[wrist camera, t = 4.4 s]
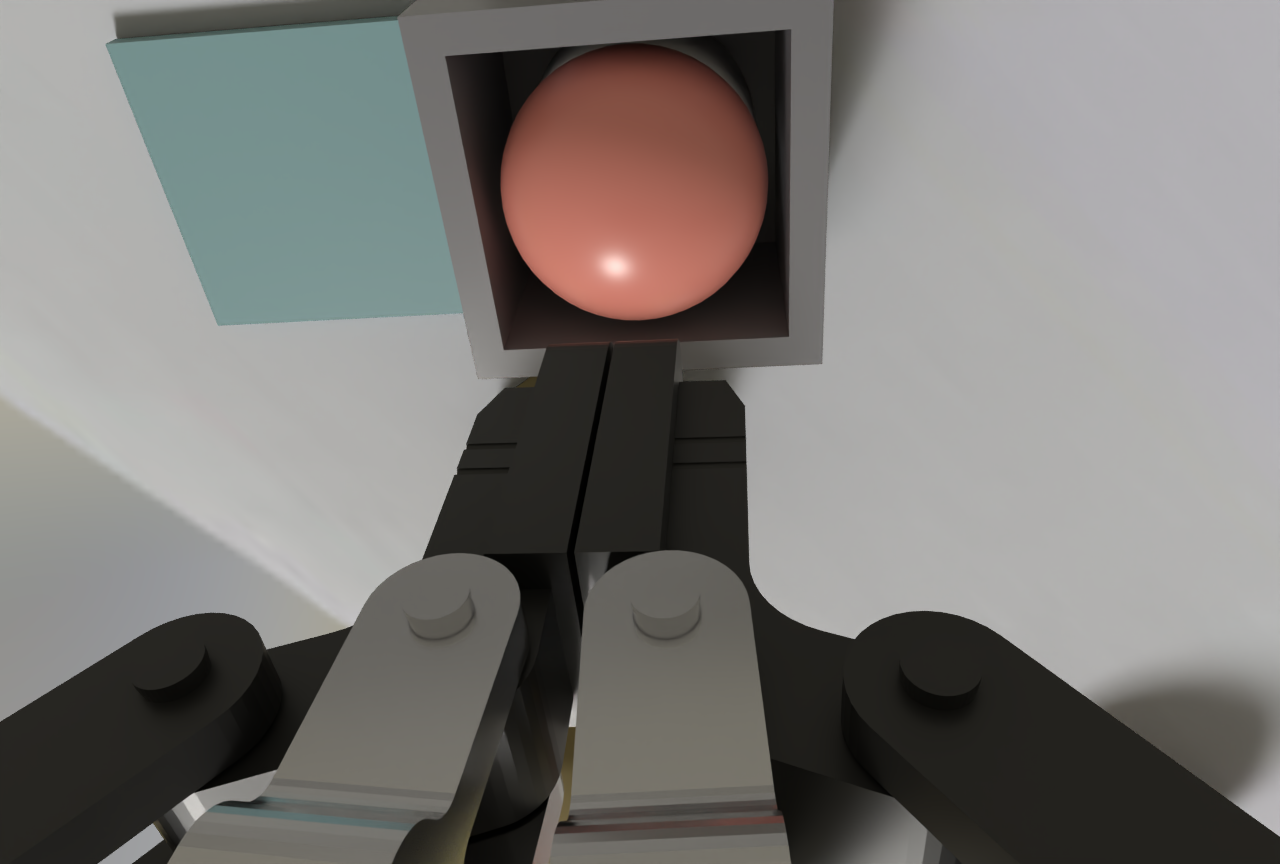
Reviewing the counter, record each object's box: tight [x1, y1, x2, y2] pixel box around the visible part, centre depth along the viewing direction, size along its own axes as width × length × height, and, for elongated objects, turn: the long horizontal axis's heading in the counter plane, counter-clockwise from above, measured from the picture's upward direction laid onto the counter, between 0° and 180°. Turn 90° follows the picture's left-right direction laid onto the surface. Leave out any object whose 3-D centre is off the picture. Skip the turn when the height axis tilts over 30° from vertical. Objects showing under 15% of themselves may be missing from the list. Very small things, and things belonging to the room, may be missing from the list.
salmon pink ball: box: [500, 35, 768, 320], centre depth 16 cm, size 5×5×5 cm
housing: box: [397, 0, 834, 379], centre depth 17 cm, size 6×6×5 cm
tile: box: [106, 16, 463, 326], centre depth 21 cm, size 6×6×1 cm
